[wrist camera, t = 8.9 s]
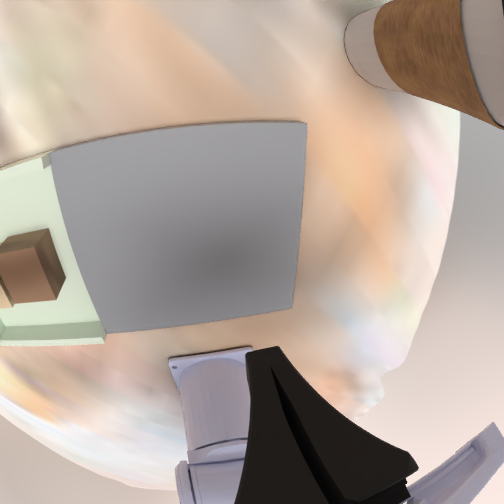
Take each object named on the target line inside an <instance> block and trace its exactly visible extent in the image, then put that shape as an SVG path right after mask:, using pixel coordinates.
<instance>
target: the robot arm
mask: <svg viewBox="0 0 504 504" xmlns="http://www.w3.org/2000/svg"><path fill="white" fill-rule="evenodd" d="M168 365H169V368H170V370H171V373H172V376H173V378H174V381H175V383H176V386H177V388H178V391H179V393H180V395H181V402H182V411H183V418H184V426H185V433H186V440H187V446H188V451H187V454H188V460H189V464H187V461H180V463H179V464H178V465H177V466H176V467H175V476H176V484H177V490H178V495H179V500H180V504H403V503H405V502H406V501H407V504H470V503H471V501H472V500H473V499H474V498H475V497H476V496H477V495H478V494H479V492H480V491H481V490H482V489H483V488H484V486H485V485H486V484H487V483H488V481H489V480H490V479H491V477H492V476H493V475H494V474H495V473H496V471H497V470H498V469H499V468H500V467H501V465H502V464H503V463H504V437H503V436H502V434H501V433H500V431H499V430H498V428H497V426H496V425H495V423H494V422H492V423H491V424H490V425H489V426H487V427H486V428H485V429H484V430H483V431H482V432H481V433H479V434H478V435H477V436H476V437H474V438H473V439H471V440H470V441H469V442H467V443H466V444H465V445H464V446H463V447H461V448H460V449H459V450H458V451H456V453H455V454H454V455H453V456H452V457H450V458H449V459H448V460H446V461H445V462H444V463H442V464H441V465H440V466H438V467H437V468H435V469H434V470H433V471H431V472H430V473H428V474H427V475H425V476H424V477H422V478H421V479H419V480H418V481H416V482H414V483H413V484H411V485H410V486H408V487H406V485H405V484H407V481H406V477H408V476H410V475H411V474H413V473H414V472H416V471H417V470H418V468H419V467H418V465H417V464H416V462H415V460H414V459H413V458H412V456H411V455H410V454H409V453H408V452H407V451H404V450H402V449H400V448H397V447H395V446H393V445H391V444H389V443H387V442H384V441H383V440H381V439H379V438H377V437H375V436H374V435H372V434H370V433H369V432H367V431H366V430H364V429H362V428H361V427H359V426H357V425H356V424H355V423H353V422H352V421H350V420H349V419H348V418H346V417H345V416H344V415H342V414H341V413H340V412H339V411H337V410H336V409H335V408H334V407H333V406H331V405H330V404H329V403H328V402H327V401H326V400H325V399H324V398H323V397H322V396H320V395H319V394H318V393H317V392H316V391H315V390H314V389H313V388H312V386H311V385H310V384H309V383H308V382H307V381H306V380H305V379H304V378H303V377H302V376H301V374H300V373H299V372H298V371H297V370H296V369H295V367H294V366H293V365H292V364H291V362H290V361H289V360H288V358H287V357H286V356H285V354H284V353H283V352H282V350H281V349H280V347H278V346H274V347H270V348H265V349H260V350H256V351H253V348H252V347H244V348H239V349H233V350H227V351H221V352H214V353H208V354H201V355H193V356H186V357H177V358H171V359H169V360H168Z"/></svg>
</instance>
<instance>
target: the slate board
mask: <svg viewBox="0 0 504 504" xmlns="http://www.w3.org/2000/svg"><path fill="white" fill-rule="evenodd" d="M306 140H307V123H304V122H300V121H236V122H217V123H203V124H192V125H182V126H173V127H164V128H157V129H150V130H143V131H137V132H131V133H125V134H119V135H114V136H109V137H104V138H99V139H95V140H90V141H86V142H82V143H78V144H74V145H70V146H66V147H62V148H58V149H56V150H54V151H52V152H50V153H49V159H50V164H51V170H52V175H53V180H54V184H55V189H56V193H57V197H58V202H59V206H60V209H61V213H62V217H63V221H64V224H65V228H66V231H67V234H68V238H69V241H70V244H71V247H72V250H73V253H74V256H75V259H76V262H77V265H78V267H79V270H80V273H81V276H82V278H83V281H84V284H85V286H86V289H87V291H88V294H89V296H90V298H91V301H92V303H93V306H94V308H95V310H96V312H97V315H98V317H99V319H100V321H101V323H102V326H103V328H104V330H105V332H106V334H111V333H122V332H133V331H143V330H152V329H161V328H169V327H178V326H185V325H193V324H200V323H207V322H214V321H221V320H227V319H234V318H240V317H246V316H252V315H257V314H263V313H269V312H274V311H280V310H285V309H290V308H292V306H293V298H294V289H295V280H296V271H297V261H298V251H299V240H300V229H301V217H302V205H303V191H304V176H305V160H306Z"/></svg>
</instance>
